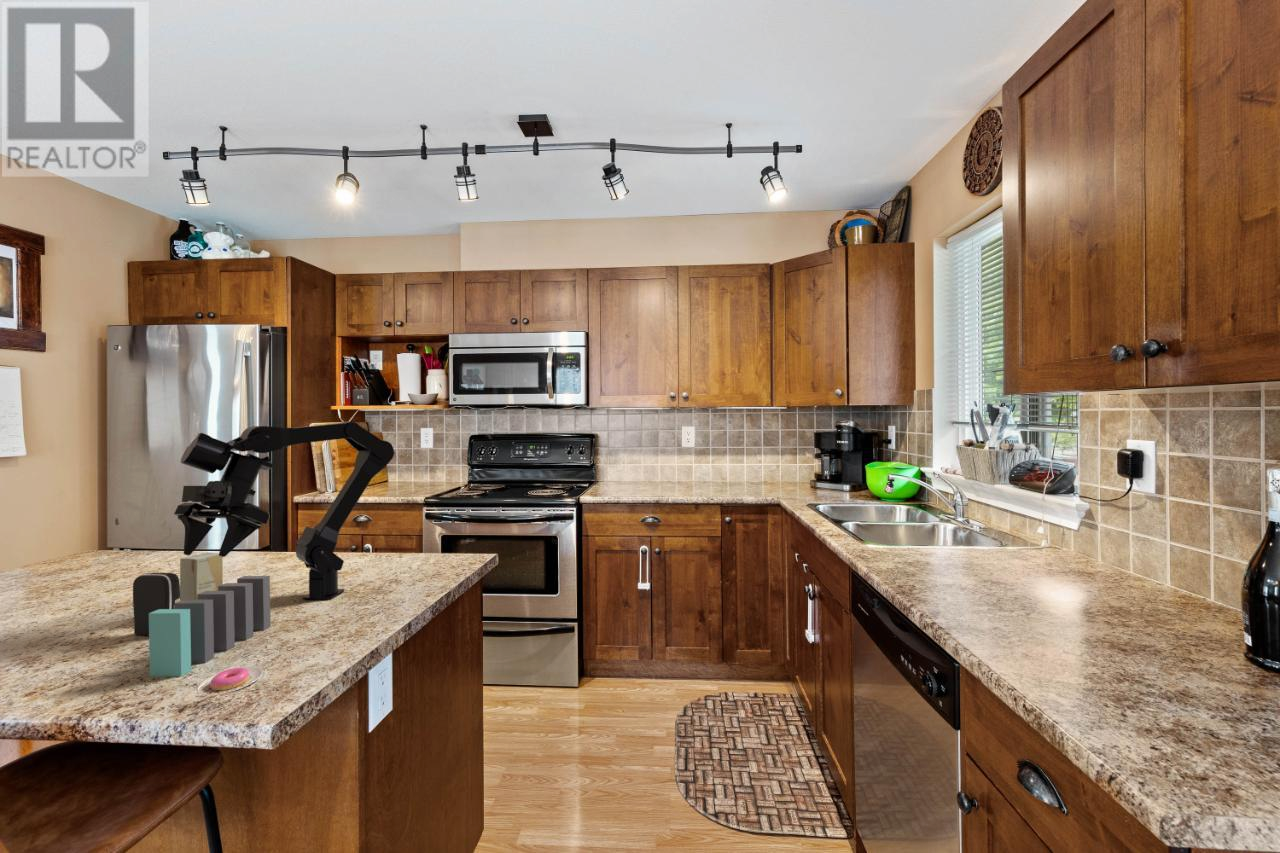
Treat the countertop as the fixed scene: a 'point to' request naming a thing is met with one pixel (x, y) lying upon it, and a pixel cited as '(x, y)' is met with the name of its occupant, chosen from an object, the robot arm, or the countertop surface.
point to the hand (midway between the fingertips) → (203, 555)
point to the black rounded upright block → (153, 597)
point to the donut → (232, 678)
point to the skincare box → (200, 574)
